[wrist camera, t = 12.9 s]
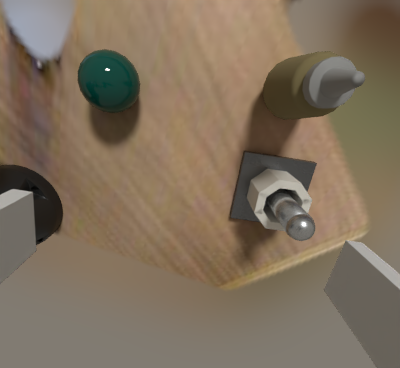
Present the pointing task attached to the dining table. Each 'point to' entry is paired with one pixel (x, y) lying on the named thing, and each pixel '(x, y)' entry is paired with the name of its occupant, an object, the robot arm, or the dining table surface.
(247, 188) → the post
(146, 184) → the dining table surface
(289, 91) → the squeeze bottle
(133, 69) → the sphere
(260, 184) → the ring
